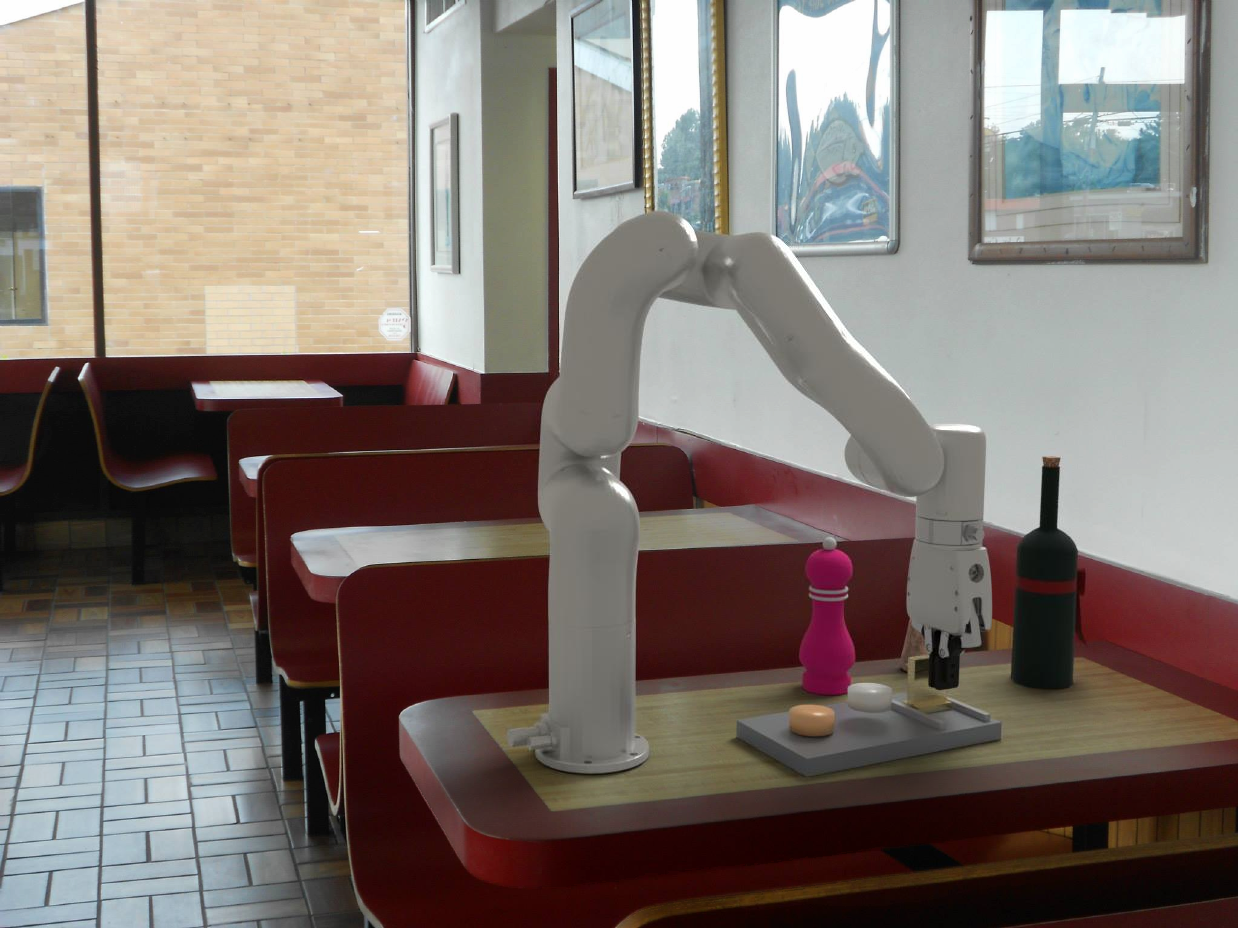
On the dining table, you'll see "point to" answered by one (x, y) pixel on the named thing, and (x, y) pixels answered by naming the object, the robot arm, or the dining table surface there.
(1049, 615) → the wine bottle
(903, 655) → the brown speckled elongated rod
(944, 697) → the brass paddle
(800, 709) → the orange button
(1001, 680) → the dining table surface
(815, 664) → the pepper mill
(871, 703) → the white knob
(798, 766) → the control panel
